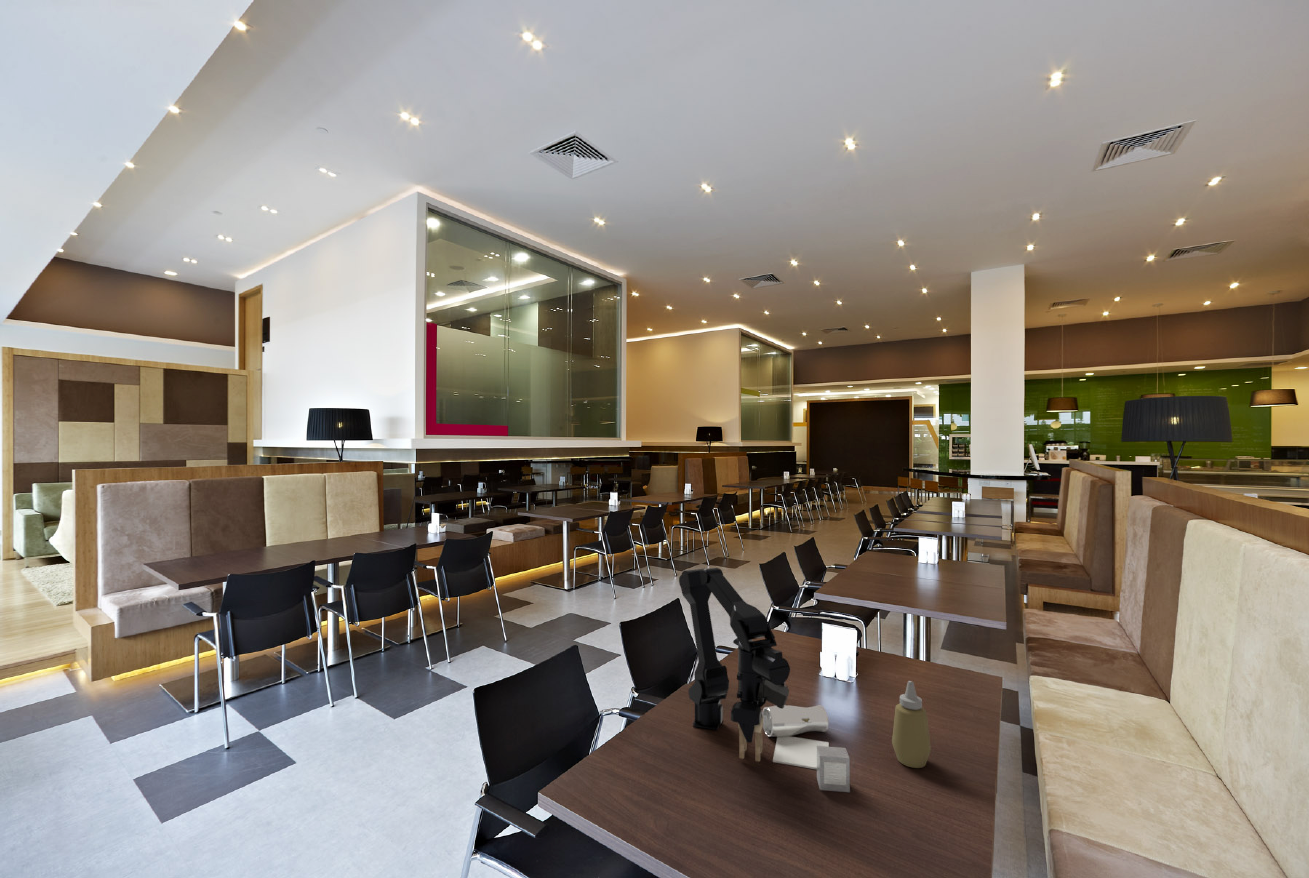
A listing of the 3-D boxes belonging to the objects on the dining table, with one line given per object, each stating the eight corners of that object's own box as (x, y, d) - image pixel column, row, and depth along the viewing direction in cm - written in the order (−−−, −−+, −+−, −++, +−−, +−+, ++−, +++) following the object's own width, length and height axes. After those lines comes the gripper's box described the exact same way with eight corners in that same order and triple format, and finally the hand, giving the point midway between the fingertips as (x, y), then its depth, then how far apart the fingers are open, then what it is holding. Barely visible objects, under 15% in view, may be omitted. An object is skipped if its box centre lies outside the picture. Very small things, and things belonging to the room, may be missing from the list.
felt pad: (772, 762, 125) (772, 760, 125) (777, 736, 137) (777, 734, 137) (828, 771, 122) (828, 769, 122) (828, 744, 133) (828, 742, 133)
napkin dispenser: (820, 791, 115) (820, 757, 115) (816, 778, 119) (816, 745, 119) (850, 793, 114) (849, 759, 114) (845, 781, 118) (845, 747, 118)
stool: (738, 758, 125) (738, 722, 125) (741, 747, 130) (741, 712, 130) (760, 762, 124) (760, 726, 124) (763, 750, 128) (763, 716, 129)
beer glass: (831, 719, 135) (774, 723, 132) (825, 740, 138) (769, 744, 135) (819, 696, 142) (764, 699, 139) (813, 717, 144) (759, 720, 141)
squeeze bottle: (928, 755, 128) (927, 677, 128) (933, 775, 120) (932, 691, 121) (890, 749, 131) (890, 672, 131) (893, 767, 123) (892, 686, 123)
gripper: (783, 689, 116) (783, 764, 116) (789, 658, 134) (789, 723, 133) (730, 682, 119) (730, 755, 119) (743, 652, 137) (743, 716, 137)
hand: (750, 736), depth 127 cm, fingers closed on stool, 5 cm apart
